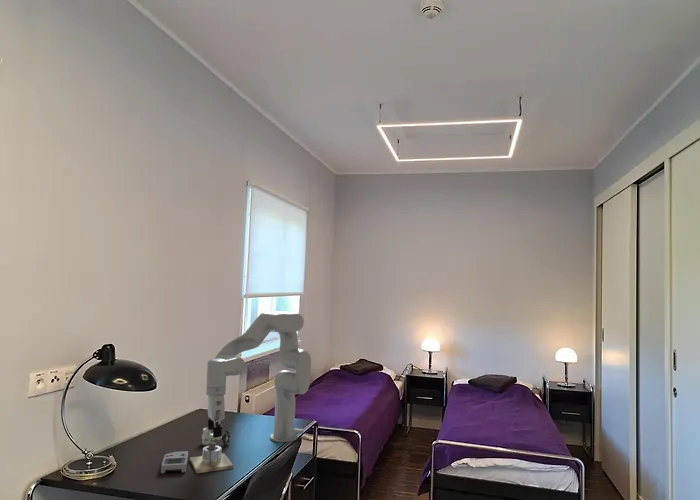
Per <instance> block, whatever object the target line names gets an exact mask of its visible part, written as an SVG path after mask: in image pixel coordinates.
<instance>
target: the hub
mask: <svg viewBox="0 0 700 500" xmlns="http://www.w3.org/2000/svg"><path fill="white" fill-rule="evenodd" d="M222 449H223V448H222V447H221V446H220V445H216V446H215V450H209V445H205V446H204V447H203V448H202V455H201V456H202V462H203V463H204V464H208V465H209V464H210V465H212V464H218V463H219V462H221V454H223V453H222Z"/></svg>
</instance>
